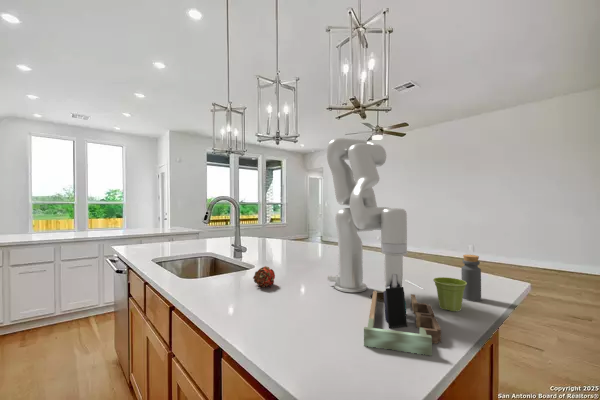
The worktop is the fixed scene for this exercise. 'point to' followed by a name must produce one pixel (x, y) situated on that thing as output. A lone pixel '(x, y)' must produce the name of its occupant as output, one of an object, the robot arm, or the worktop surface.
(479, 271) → the bottle
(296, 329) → the worktop surface
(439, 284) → the plant pot
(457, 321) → the worktop surface
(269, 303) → the worktop surface
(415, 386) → the worktop surface
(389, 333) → the trap channel
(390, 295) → the black blue bulged block
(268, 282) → the dragon fruit
